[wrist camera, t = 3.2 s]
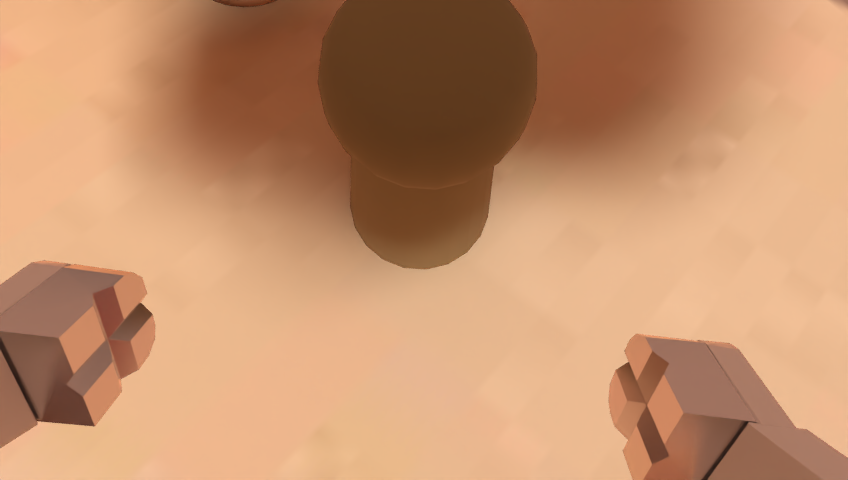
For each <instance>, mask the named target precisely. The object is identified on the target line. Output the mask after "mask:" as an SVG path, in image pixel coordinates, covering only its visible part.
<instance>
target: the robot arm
mask: <svg viewBox="0 0 848 480" xmlns="http://www.w3.org/2000/svg"><path fill="white" fill-rule="evenodd" d="M146 295H147V291H146V288H145V285H144V281H143V278H142V277H141V276H139V275H137V274H135V273H132V272H125V271H118V270H111V269H104V268H97V267H90V266H83V265H77V264H74V265H71V264H66V263H59V262H52V261H45V260H44V261H38V262H33V263H30V264H29V265H27V266H26V267H25V268H23V269H22V270H20V271H19V272H18V273H16V274H15V275H13V276H12V277H11V278H9V279H8V280H6V281H5V282H4V283H2V284H1V285H0V448H1V447H3V446H5V445H6V444H8V443H9V442H11V441H12V440H14V439H16V438H17V437H19V436H20V435H22V434H23V433H25V432H27V431H28V430H30V429H31V428H33V427H34V426H36V425H37V424H38V423H37V421H41V422H52V423H63V424H74V425H85V426H96V424H97V423H98V422H99V420H100V419H101V418H102V417H103V415H104V414H105V413H106V411H107V410H108V409H109V408H110V406H111V405H112V404H113V402H114V401H115V400H116V398H117V397H118V396H119V395H120V393H121V392H122V386H121V379H122V378H124V377H126V376H128V375H130V374H131V373H133V372H135V371H137V370H139V368H140V367H141V366H142V364H143V363H144V362H145V360H146V359H147V358H148V356H149V354H150V351H151V348H152V345H153V343H154V340H155V322H154V318H153V314H152V313H151V312H150V311H149V310H148V309H147V308H146V307H145V306H144V305H143V304H142V303H141V302H142V300H143V299H144V297H145V296H146ZM625 354H626V356H627V359H628V361H629V362H628V363H626V364H625V365H623V366H621V367H620V368H618V369H617V370H615V373H614V375H613V378H612V380H611V383H610V389H609V408H610V414H611V417H612V420H613V423H614V426H615V427H616V428H617V429H618V430H619V431H620V432H621V433H622V434H623V435H624V436H625V437H626V438H627V439H628V441H627V443H626V445H625V448H624V450H623V453H624V456H625V459H626V462H627V465H628V467H629V470H630V473H631V476H632V479H633V480H848V458H847V457H846V456H844V455H843V454H841V453H840V452H838V451H837V450H835V449H834V448H833V447H831V446H830V445H828V444H827V443H825V442H824V441H823V440H821V439H820V438H818V437H817V436H815V435H814V434H813V433H811V432H810V431H808V430H806V429H799V428H796V427H795V426H794V424H793V423H792V422H791V420H790V419H789V417H788V416H787V415H786V413H785V412H784V411H783V409H782V408H781V406H780V405H779V404H778V402H777V401H776V400H775V398H774V397H773V396H772V394H771V393H770V391H769V390H768V389H767V387H766V386H765V385H764V383H763V382H762V380H761V379H760V378H759V376H758V375H757V374H756V372H755V371H754V369H753V368H752V367H751V365H750V364H749V363H748V361H747V360H746V358H745V357H744V356H743V354H742V353H741V352H740V350H739V349H738V348H736V347H735V346H733V345H732V344H730V343H722V342H712V341H702V340H698V341H694V340H686V339H677V338H669V337H660V336H651V335H643V334H635V335H634V336H633V337H632V338H631V339H630V340H629V342H628V344H627V347H626V349H625Z"/></svg>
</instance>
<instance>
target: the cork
mask: <svg viewBox="0 0 848 480" xmlns="http://www.w3.org/2000/svg"><path fill="white" fill-rule="evenodd" d="M318 86H319V90H320V95H321V99H322V103H323V108H324V112H325V115H326V118H327V120H328V123H329V125H330V127H331V129H332V130H333V132H334V133H335V135H336V136H337V138H338V140H339V141H340V143H341V144H342V146H343V147H344V149H345V151H346V152H347V153H348V154H350V155H351V192H350V207H351V212H352V216H353V221H354V225H355V228H356V229H357V231H358V233H359V234H360V236H361V238H362V239H363V241H364V242H365V244H366V245H367V246H368V247H369V248H370V249H371V250H372V251H374V252H375V253H376V254H377V255H378V256H380V257H381V258H382V259H383V260H386V261H388V262H391V263H393V264H396V265H398V266H401V267H403V268H415V269H430V268H434V267H438V266H442V265H446V264H449V263H450V262H452V261H454V260H455V259H457V258H459V257H460V256H462V255H463V254H465V253H467V251H468V250H469V249H470V248H471V247H472V245H473V244H474V243H475V242H476V241H477V239H478V238H479V237H480V236H481V233H482V231H483V228H484V225H485V223H486V220H487V217H488V212H489V203H490V194H491V186H492V177H493V169H494V165H496V164H498V163H499V162H500V161H501V159H502V158H503V157H504V156H505V155H506V154H507V152H508V151H509V150H510V149H511V148H512V147H513V145H514V144H515V143H516V142H517V141H518V140H519V138H520V136H521V134H522V133H523V131H524V129H525V127H526V124H527V121H528V119H529V116H530V113H531V111H532V108H533V106H534V103H535V100H536V87H537V54H536V51H535V48H534V45H533V42H532V39H531V36H530V33H529V31H528V28H527V25H526V24H525V22H524V20H523V19H522V17H521V15H520V14H519V13H518V11H517V10H516V9H515V8H514V6H513V5H512V4H511V2H510V1H509V0H346V1H345V2H344V4H343V5H342V6H341V7H340V9H339V10H338V11H337V13H336V15H335V17H334V19H333V20H332V22H331V24H330V26H329V28H328V30H327V32H326V34H325V36H324V38H323V43H322V50H321V58H320V65H319V75H318Z"/></svg>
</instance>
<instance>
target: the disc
mask: <svg viewBox="0 0 848 480" xmlns="http://www.w3.org/2000/svg"><path fill="white" fill-rule="evenodd" d="M213 1H215V2H219V3H222V4H226V5H231V6H241V7H248V6H258V5H264V4H268V3H271V2H274V1H277V0H213Z"/></svg>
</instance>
